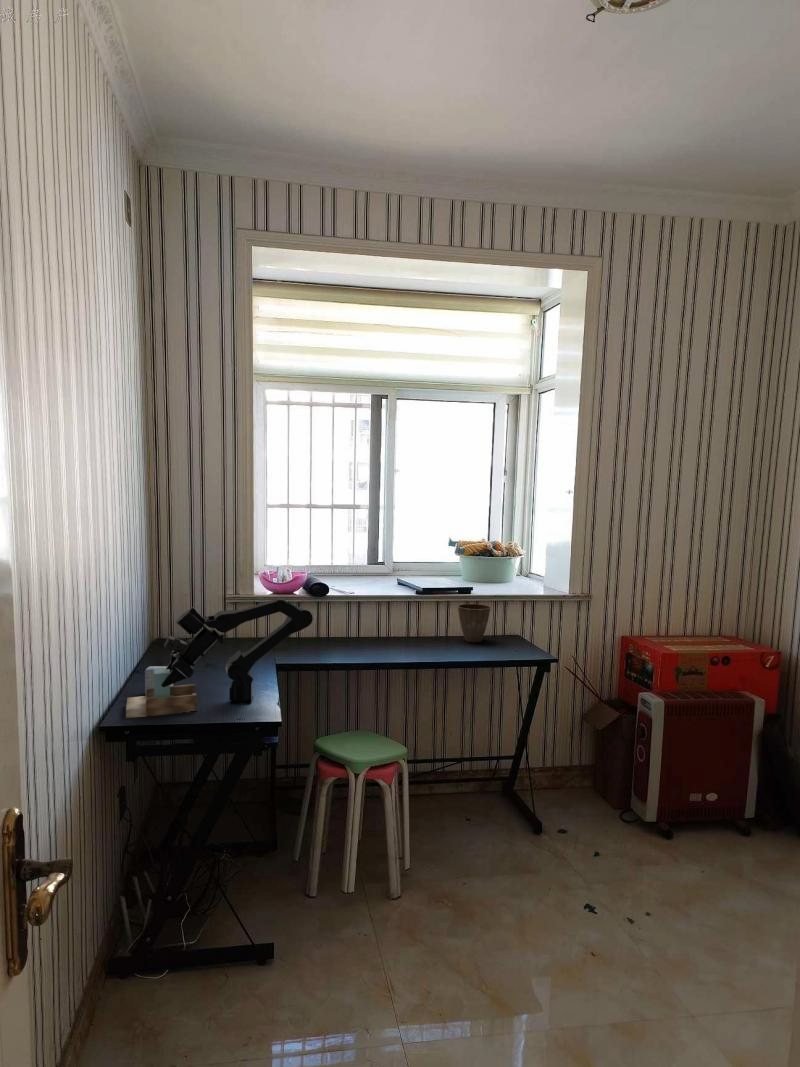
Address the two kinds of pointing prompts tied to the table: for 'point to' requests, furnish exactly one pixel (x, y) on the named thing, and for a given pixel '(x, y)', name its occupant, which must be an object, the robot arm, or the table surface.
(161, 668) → the medicine box
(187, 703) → the channel track
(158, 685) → the teal block
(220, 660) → the table surface
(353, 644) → the table surface
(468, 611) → the plant pot
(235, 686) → the robot arm
